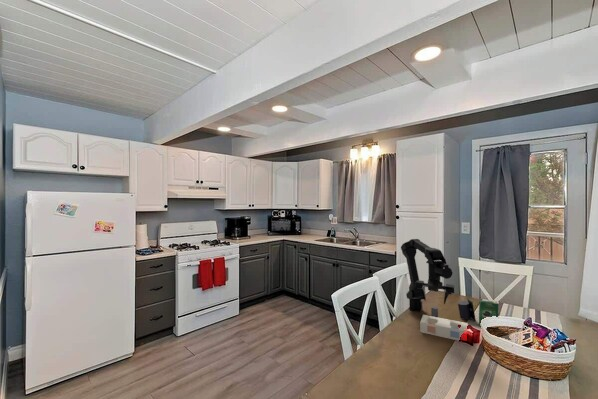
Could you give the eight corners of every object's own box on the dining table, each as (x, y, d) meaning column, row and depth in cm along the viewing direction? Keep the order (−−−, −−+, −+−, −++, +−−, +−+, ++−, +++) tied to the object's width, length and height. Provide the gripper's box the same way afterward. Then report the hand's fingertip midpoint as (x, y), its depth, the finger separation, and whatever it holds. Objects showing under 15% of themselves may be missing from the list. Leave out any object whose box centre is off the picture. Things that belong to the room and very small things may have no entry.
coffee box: (496, 326, 143) (496, 301, 143) (498, 329, 140) (498, 303, 140) (478, 324, 146) (478, 299, 145) (480, 327, 143) (480, 301, 143)
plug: (431, 323, 148) (431, 308, 148) (432, 320, 151) (432, 306, 151) (437, 324, 147) (437, 309, 147) (438, 322, 149) (438, 307, 149)
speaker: (475, 316, 154) (472, 298, 154) (475, 321, 149) (473, 302, 149) (459, 315, 158) (457, 297, 158) (459, 320, 153) (457, 301, 153)
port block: (420, 332, 138) (420, 321, 138) (423, 324, 147) (423, 314, 147) (467, 342, 128) (467, 331, 128) (467, 333, 137) (467, 322, 137)
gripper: (413, 274, 147) (413, 304, 147) (453, 279, 137) (453, 311, 137) (416, 269, 156) (416, 297, 156) (454, 274, 146) (454, 303, 146)
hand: (434, 302), depth 149 cm, fingers open, 9 cm apart
